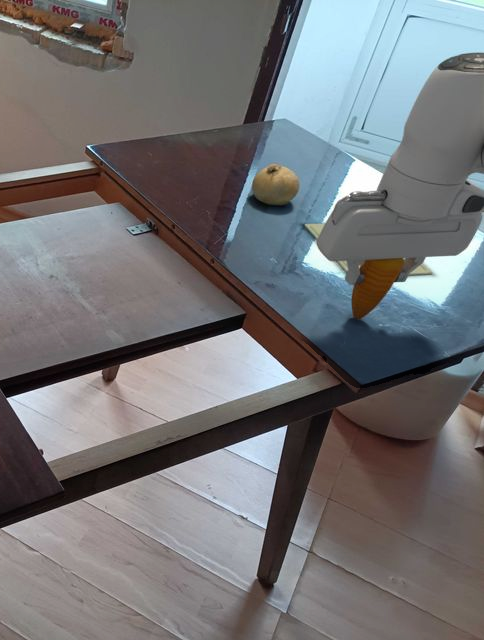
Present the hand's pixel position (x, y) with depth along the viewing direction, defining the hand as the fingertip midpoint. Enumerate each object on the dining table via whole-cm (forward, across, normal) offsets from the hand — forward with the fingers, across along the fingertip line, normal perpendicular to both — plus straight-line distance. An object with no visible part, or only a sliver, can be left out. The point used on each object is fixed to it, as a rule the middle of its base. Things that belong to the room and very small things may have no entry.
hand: (374, 281), depth 95 cm
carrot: (+7, 0, 0) cm, 7 cm away
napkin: (+7, +12, +18) cm, 23 cm away
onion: (+7, +3, +35) cm, 36 cm away
